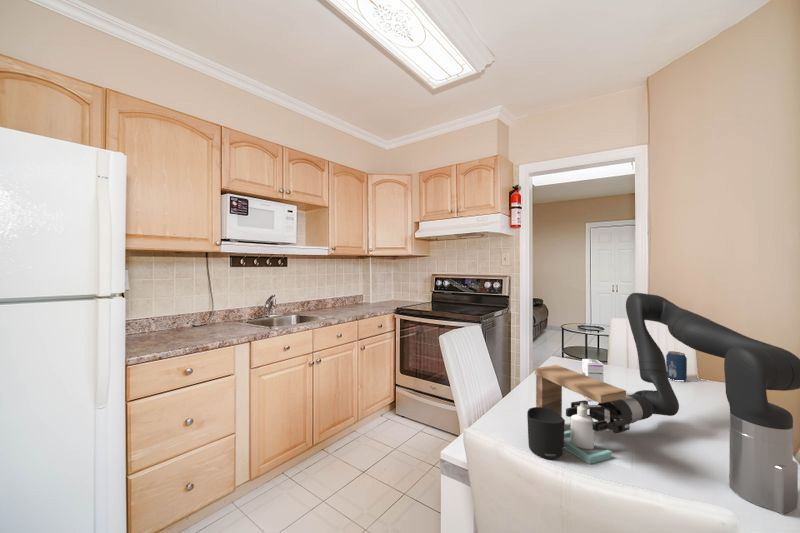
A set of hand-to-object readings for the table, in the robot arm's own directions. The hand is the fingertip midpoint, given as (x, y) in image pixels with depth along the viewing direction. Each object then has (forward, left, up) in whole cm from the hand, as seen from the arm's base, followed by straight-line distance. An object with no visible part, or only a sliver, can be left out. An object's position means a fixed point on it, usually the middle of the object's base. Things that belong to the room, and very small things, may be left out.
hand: (579, 419), depth 88 cm
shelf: (+2, -1, -8) cm, 8 cm away
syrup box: (+23, -34, -8) cm, 42 cm away
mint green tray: (0, -1, -8) cm, 8 cm away
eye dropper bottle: (0, -1, -8) cm, 8 cm away
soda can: (+25, -88, -8) cm, 92 cm away
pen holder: (+3, +10, -8) cm, 13 cm away
